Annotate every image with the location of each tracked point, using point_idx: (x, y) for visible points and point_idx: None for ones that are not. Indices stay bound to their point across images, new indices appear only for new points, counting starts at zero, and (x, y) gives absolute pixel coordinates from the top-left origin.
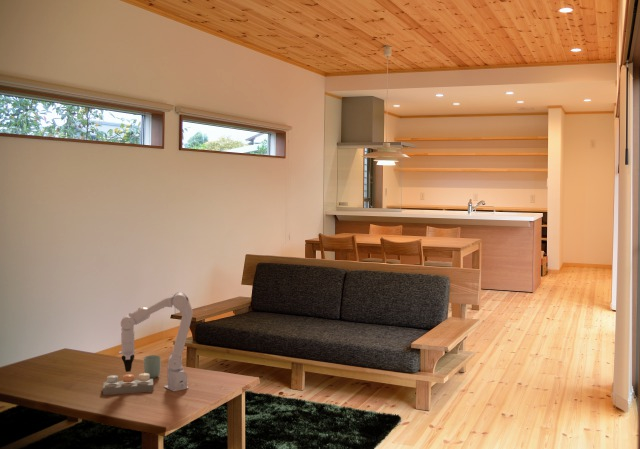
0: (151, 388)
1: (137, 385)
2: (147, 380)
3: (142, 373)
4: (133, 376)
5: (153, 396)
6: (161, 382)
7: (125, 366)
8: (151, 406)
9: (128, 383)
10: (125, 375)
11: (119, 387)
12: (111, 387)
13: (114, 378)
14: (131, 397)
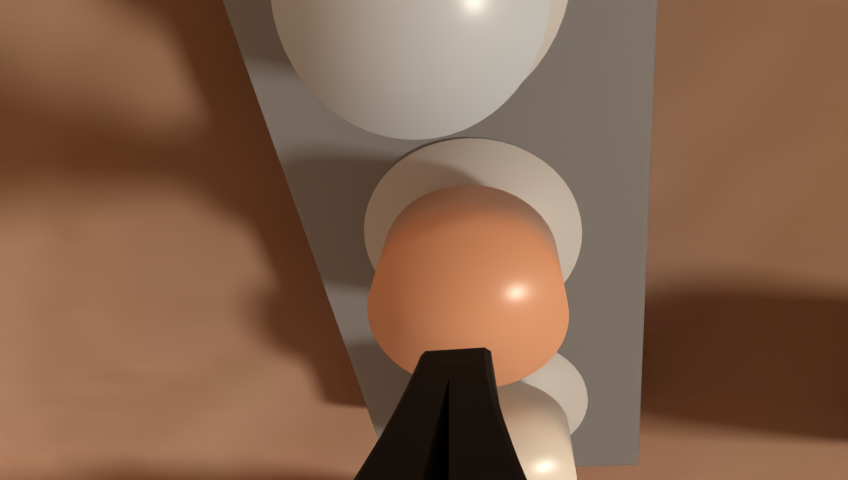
0: None
1: (365, 347)
2: None
3: (570, 477)
4: None
5: (251, 415)
6: (693, 458)
7: (379, 462)
8: (11, 411)
9: None
10: (488, 273)
11: (274, 139)
12: (245, 4)
13: (307, 79)
14: (190, 257)
